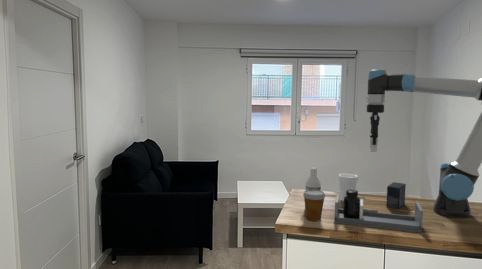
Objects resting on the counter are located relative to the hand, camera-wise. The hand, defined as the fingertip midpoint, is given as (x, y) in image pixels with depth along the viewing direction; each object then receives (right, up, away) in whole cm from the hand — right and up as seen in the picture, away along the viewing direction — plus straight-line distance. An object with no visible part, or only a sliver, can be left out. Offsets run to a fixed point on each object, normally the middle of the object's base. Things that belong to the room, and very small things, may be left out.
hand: (373, 149), depth 174 cm
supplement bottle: (-13, -29, -10) cm, 34 cm away
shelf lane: (-4, -31, -13) cm, 33 cm away
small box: (+15, -28, +10) cm, 33 cm away
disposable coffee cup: (-30, -30, -10) cm, 44 cm away
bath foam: (-28, -29, +3) cm, 40 cm away
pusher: (-7, -29, -12) cm, 32 cm away
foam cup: (-7, -27, +18) cm, 33 cm away
